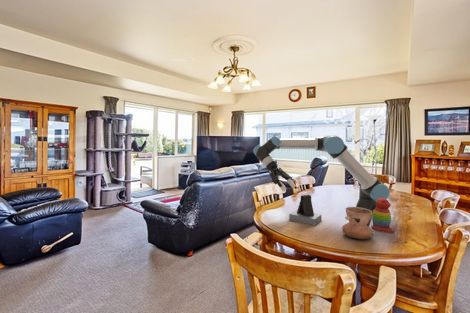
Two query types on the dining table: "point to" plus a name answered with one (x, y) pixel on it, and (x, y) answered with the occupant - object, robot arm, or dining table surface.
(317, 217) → the plinth
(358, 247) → the dining table surface
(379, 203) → the stacking bear
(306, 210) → the black tapered block
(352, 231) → the ceramic jug
